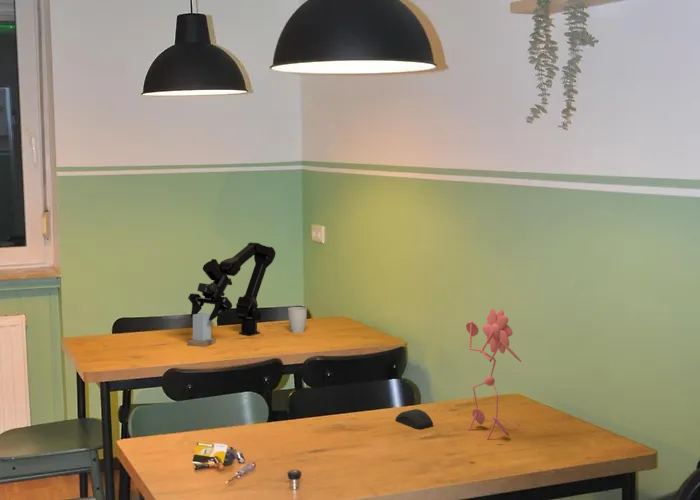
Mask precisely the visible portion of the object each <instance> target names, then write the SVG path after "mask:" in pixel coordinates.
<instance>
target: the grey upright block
mask: <svg viewBox="0 0 700 500" xmlns="http://www.w3.org/2000/svg"><path fill="white" fill-rule="evenodd" d="M210 315H211V313H204V312H198V313H197V314H194V315H193V319H192V339H193V340H198V341H206V340H209V339H211V338H212V320H211V321H210V320H209V317H210Z"/></svg>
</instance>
